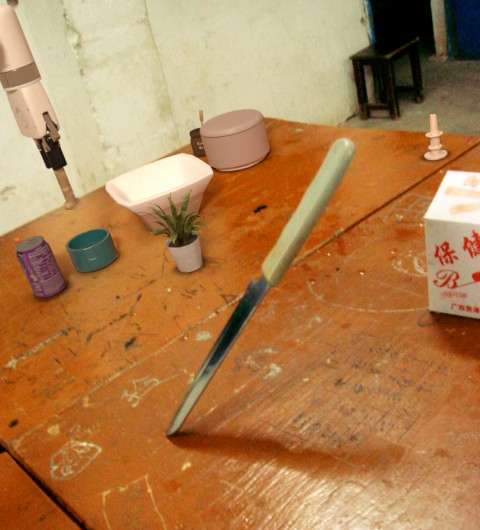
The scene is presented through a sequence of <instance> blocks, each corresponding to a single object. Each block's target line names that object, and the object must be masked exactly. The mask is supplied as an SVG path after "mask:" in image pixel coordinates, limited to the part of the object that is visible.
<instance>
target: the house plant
mask: <svg viewBox="0 0 480 530" xmlns="http://www.w3.org/2000/svg"><path fill="white" fill-rule="evenodd" d="M191 191H192V189H191V190H190V191H189V192H188V193H187V194H186V196H185V195H184V196H185V198H184V197H183V198H184V201H183V204H182V206H181V210H180V215H177V212H176V208H175V205H174V203H173V202H172V200H171V192H170V196H169V197H168V196H167V197H168V200H169V204H170V208H171V213H172V216H171V215H166V214H165V212H164V211H163V210H162V209H161V208H160V207H159V206H158V205H156V204H154V205H156V206H157V207H158V208H159V209H160V210H161V211H162V212H163V214H164V215H165V216H164V215H163V214H162V213H161V212H160V211H158V210H157V209H155V208H153V207H151V206H148V207H151V208H149V209H150V210H152V211H153V212H154V213H155V214H157V215H158V216H160V218H162V219H163V220H164V221H165V222H166V224H167V225H168V226H169V227H168V228H167V227H166V226H165V224H164V223H161V221H160V220H159V221H160V222H158V221H156V223H158V224H160V225H161V226H163V227H164V228H165V229H164V230H161V229H153V230H151V231H150V233H149V235H153V237H156V236H159V235H164V236H162V239H164V238H165V237H167V238H168V239H167V241H166V242H165V246H166V248H167V250H168V252H169V254H170V256H171V258H172V259H173V262H174V263H175V265H176V267H177V269H178V271H179V272H181V273H191V272H195V271H196V270H197V271H198V270H199V269H200V268H201V267H202V266H203V261H204V260H203V254H202V246H201V239H200V234H202V232H201V229H200V227H199V226H202V227H205V228H208V226H207V224H206V223H205V222H204V221H196V220H197V219H199V218H204V215H201V214H198V215H192V214H193V213H195V212H193V213H191V214H189V215H188V214H187V216H186V213H190V212H186V211H187V207H188V203H189V195H190V193H191ZM183 198H182V199H183ZM182 199H181V200H180V202H179V204H180V203H181V201H182ZM198 200H200V199H198ZM198 200H197V201H198ZM197 201H195V202H194V203H193V205H194V204H195V203H196V202H197ZM149 204H152V203H149ZM179 204H178V206H177V211H178V207H179ZM193 205H192V206H193ZM192 206H191V208H192ZM148 207H147V208H148ZM191 208H190V209H191ZM189 211H190V210H189ZM196 212H197V211H196ZM135 213H145V212H135ZM131 214H134V213H132V212H131V213H130V215H131ZM146 214H148V213H146ZM149 215H150V214H149ZM190 215H191V216H190ZM151 216H152V215H151ZM185 216H186V217H185ZM189 216H190V217H189ZM153 217H154V216H153ZM172 217H173V218H172ZM188 217H189V218H188ZM157 218H158V217H157ZM157 218H155V219H157ZM187 218H188V220H187V221H186V219H187ZM155 219H154V220H155ZM173 219H174V220H173ZM195 221H196V222H195ZM153 223H154V222H153ZM151 224H152V223H151ZM199 233H200V234H199ZM153 237H152V238H153Z"/></svg>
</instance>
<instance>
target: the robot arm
mask: <svg viewBox="0 0 480 530" xmlns="http://www.w3.org/2000/svg"><path fill="white" fill-rule="evenodd" d="M41 80H42V75H41V73H40V70H39V68H38V65H37V63H36V60H35V57H34V55H33V53H32V49H31V47H30V44H29V42H28V40H27V38H26V34H25V32H24V30H23V27H22V25H21V23H20V20H19V17H18V15H17V13H16V10H15V8H13V7H12V5H10V4H8V3H7V4H6V3H5V4H0V84H1V86H2V89H3V91H4V92H5V93H6V97H7V101H8V104H9V106H10V109H11V112H12V114H13V117H14V119H15V123H16V124H17V127H18V129H19V133H20V134H21V135H22V136H24V137H27V138H31V139H32V140H33V141H34V143H35V145H36V148H37V150H38V151H39V154H40V156H41V158H42V161H43V164H44V166H45V168H46V169H48V170H50V169H52V171H53V170H55V171H56V170H58V169H60V168H62V167H64V168H65V167H66V166H68V163H67V160H66V157H65V154H64V152H63V150H62V145H61V143H60V140H61V138H62V137H61V134H60V133H59V131H60V129H61V125H60V122H59V119H58V117H57V115H56V112H55V110H54V107H53V104H52V102H51V100H50V99H49V98H50V97H49V96H48V94H47V92H46V91H45V88H44V85H43V84H42V82H41ZM47 139H48V141H47ZM42 142H43V143H44V145H45V148H46V150H47V152H45V150H44V148H43V145H42ZM48 159H49V160H48ZM51 166H52V167H51Z"/></svg>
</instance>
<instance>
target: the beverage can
mask: <svg viewBox="0 0 480 530" xmlns="http://www.w3.org/2000/svg"><path fill="white" fill-rule="evenodd" d="M14 249H15V251H16V258H17V261H18V263H19V265H20V267H21V269H22V271H23V273H24V275H25V277H26V279H27V282H28V284H29V286H30V288H31V290H32V292H33V294H34V296H35V297H36V298H50V297H54V296H55V295H57V294H59V293H60V292H62V290H63V289H64V288H65V287H66V286H67V280H66V279H65V276H64V274H63V272H62V270H61V268H60V265H59V263H58V261H57V259H56V256H55V254H54V251H53V249H52V247H51V245H50V243H49V242H48V241H46V239H45V237H44V236H43V235H33V236H29V237H26V238H25V239H22V240H21V241H19V242H18V243H17V244H16V245H15V247H14Z"/></svg>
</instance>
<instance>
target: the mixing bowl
mask: <svg viewBox="0 0 480 530" xmlns="http://www.w3.org/2000/svg"><path fill="white" fill-rule="evenodd" d="M64 248H65V249H66V252H67V255H68V256H69V259H70V261H71V263H72V266H73V268H74V270H75V271H78V272H81V273H91V272H96V271H99V270H102V269H104V268H107V266H110V265H111V263H113V262H115V259H116V258H117V257H118V253H119V252H118V250H117V246H116V244H115V242H114V240H113V236H112V235H111V231H110V230H109V229H107V228H105V227H104V228H103V227H101V228H100V227H99V228H91V229H89V230H88V229H87V230H85V231H83V232H81V233H78V234H76V235H75V236H73V237H71V238H70V239H69V240H68V241H67V242H66V243H65V247H64Z"/></svg>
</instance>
